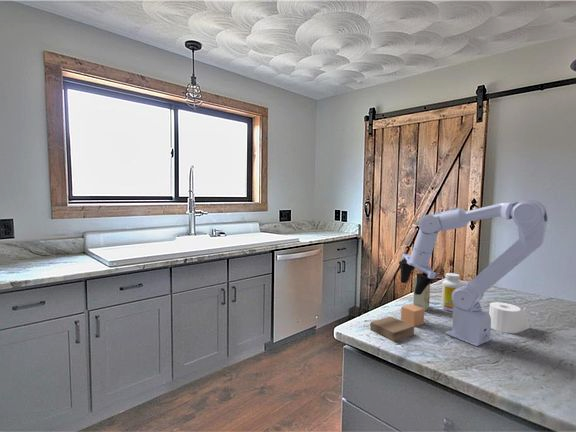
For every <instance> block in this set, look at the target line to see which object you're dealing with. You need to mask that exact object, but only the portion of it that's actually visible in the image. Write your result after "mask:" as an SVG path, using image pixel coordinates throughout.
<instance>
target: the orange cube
mask: <svg viewBox="0 0 576 432" xmlns="http://www.w3.org/2000/svg"><path fill="white" fill-rule="evenodd" d="M400 321H403V322H405V323H408V324H410V325H412V326H414V327H417V326H420V325H422V324H423V325H424V322H425V311H424V308H421V307H418V306H415V305H413V303H411V304H407V305H403V306H401V310H400Z"/></svg>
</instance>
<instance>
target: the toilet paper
mask: <svg viewBox="0 0 576 432" xmlns="http://www.w3.org/2000/svg"><path fill="white" fill-rule="evenodd" d="M488 310H489V312H488V314H489V315H490V317H491V329H492V330H495V331H498V332H501V333H506V334H518V333H520V332H523V331H526V330H528V329H530V324H529V323H530V322H529V319H528V313H527V309H526V307H524V308H523V309H521V307H519V306H517V305H514V304H512V303H511V304H510V303H508V302H500V301H499V302H498V301H497V302H496V301H495V302H494V301H493V302H490V303H489V309H488Z"/></svg>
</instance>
